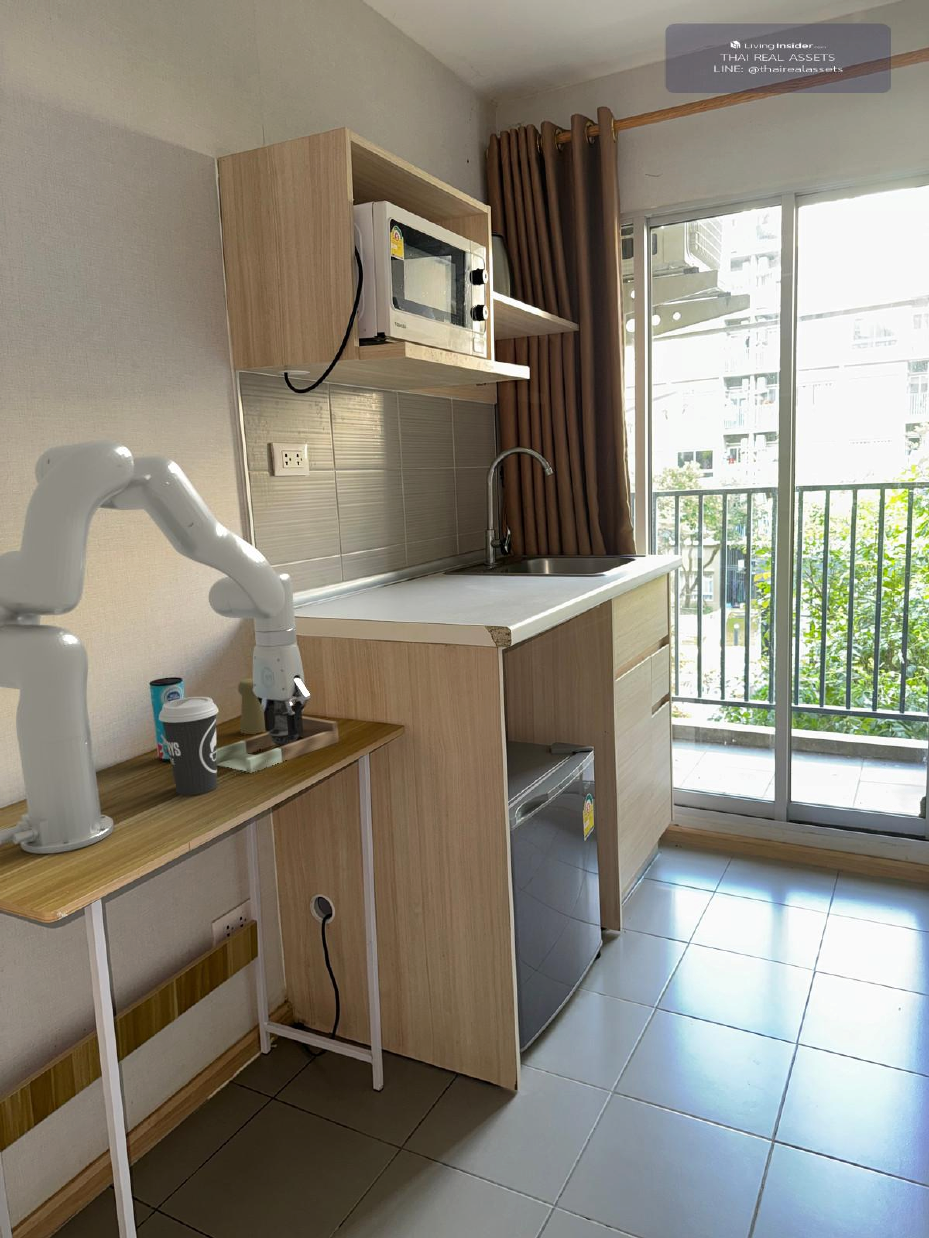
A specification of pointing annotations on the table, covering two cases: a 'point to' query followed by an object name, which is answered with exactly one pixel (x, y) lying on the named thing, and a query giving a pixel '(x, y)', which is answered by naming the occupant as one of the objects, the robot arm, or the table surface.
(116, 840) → the table surface
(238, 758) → the bay
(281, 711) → the grey chess piece
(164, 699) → the beverage can
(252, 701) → the cork
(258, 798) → the table surface
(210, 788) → the coffee cup
